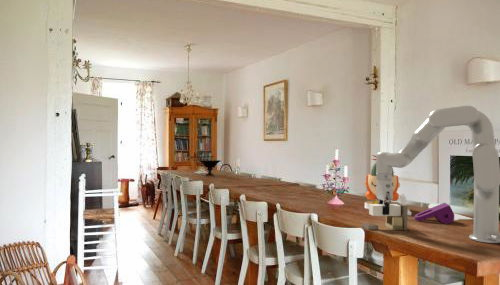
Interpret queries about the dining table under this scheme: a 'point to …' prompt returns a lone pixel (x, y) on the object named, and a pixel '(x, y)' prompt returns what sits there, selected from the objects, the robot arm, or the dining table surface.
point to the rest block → (370, 225)
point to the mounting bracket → (437, 213)
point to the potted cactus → (372, 183)
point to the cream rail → (378, 210)
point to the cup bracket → (398, 219)
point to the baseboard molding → (461, 217)
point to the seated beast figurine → (402, 201)
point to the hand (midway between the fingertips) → (383, 213)
